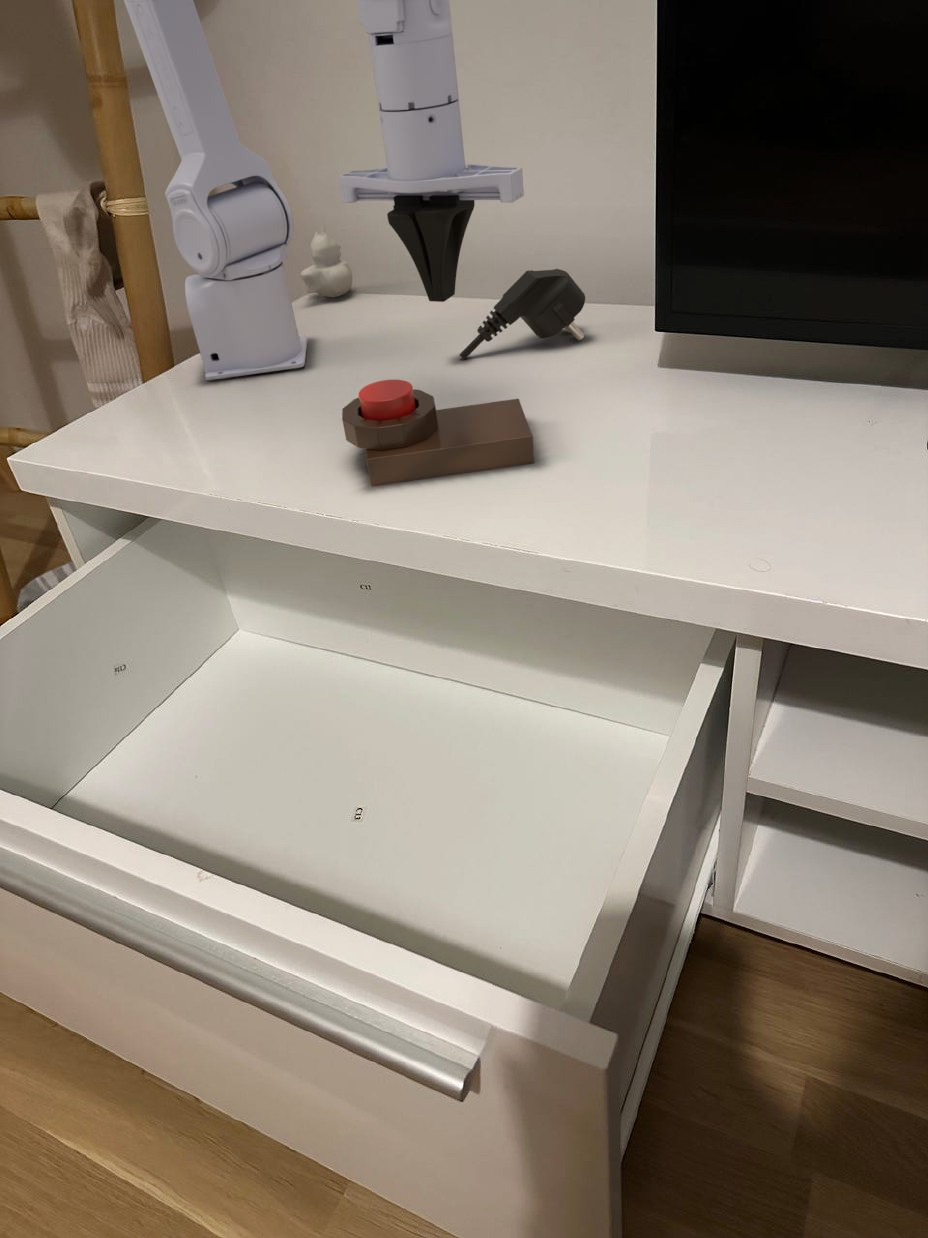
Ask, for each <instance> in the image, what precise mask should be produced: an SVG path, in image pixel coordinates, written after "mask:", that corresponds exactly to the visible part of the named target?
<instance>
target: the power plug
mask: <svg viewBox="0 0 928 1238" xmlns="http://www.w3.org/2000/svg"><path fill="white" fill-rule="evenodd" d="M585 302H586V294H585V293H584V292H583V290H582V289H581V288H580V286H579V285H578V284H577V283H576V281H575V280H574V279H573V278H572V276H571V275H570V274H569V273H568V272H567V271H566V270H563V269H559V268H555V269H544V270H542V269H541V270H532V269H531V270H525V272H523V274H522V275H521V276H520V277H519V278H518V279H517V280H516V281H515V282H514V283H513V284H512V285H511V286H510V287H509V288H508V289H507V290H506V291H505V292H504V293H503V294H502V297H501V298H500V300H499V301H498V302H497V303H496V304H494V306H493V307H492V308H493V309H494V311H493V310H490V311H489V314H490V315H491V316H489V315H486V317H485V318H486V320H483V321H482V325H483V326H482V325H481V324H480V325H479V326H478V328H477V329H476V332H477V333H478V335H477V336H475V337H474V339H473V340H472V341H471V342H470V343H469V344H468V345H467V346H466V347H465V348H464V349H463V350H462V351H461V352H460V353H459V354H458V356H460V358H461V359H462V360H463V361H464V360H466V359H467V358H468V357H469V356H470V355H471V354H472V353H473V352H474V351H475V350H476V349H477V348H478V347H479V346H480V345H481V343H482V342H484V341H485V342H487V343H488V342H491V341H492V340H493V339H494V338H493V337H492V335H493V336H494V337H497V336H498V332H499V333H500V334H501V333H502V332H503V329H505V330H506V329H508V326H507V325H509V326H511V325H513V324H514V323H515V322H517V321H518V320H519V319H520V318H521V320H523V322H524V323H525V324H526V325H527V327H529V328H530V330H531V331H532V332H533V333H534V334H535V335H536V336H537V337H538V338H539V339H548V338H552V337H554V336H556V335H559V334H560V333H561V332H562V330H565V331H566V332H567V333H571V334H572V335H573V337H574V338H575V339H576V340H577V341H582V340H583V339H584V337H585V335H584V333H583V332H582V330H581V329H580V327H579V326H577V324H576V323H575V320H576V319H575V318H576V317H577V316H578V315H579V313H581V312H582V310H583V308H584V306H585ZM501 327H502V328H503V329H502V328H501Z"/></svg>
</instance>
